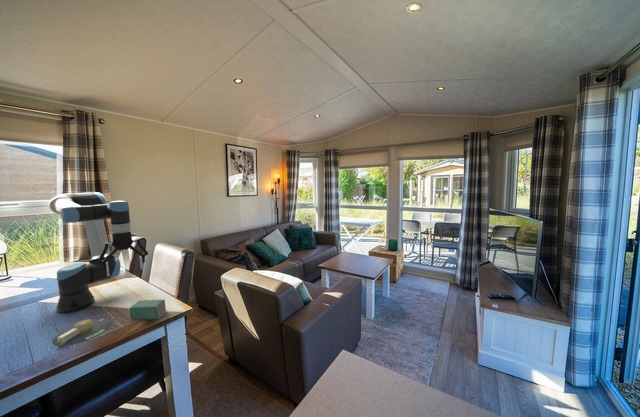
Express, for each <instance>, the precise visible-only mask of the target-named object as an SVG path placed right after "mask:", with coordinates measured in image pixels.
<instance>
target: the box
mask: <svg viewBox="0 0 640 417" xmlns="http://www.w3.org/2000/svg"><path fill="white" fill-rule="evenodd" d="M166 313H167V309H166V301H165V299H145V300H144V299H143V300H138V301H137V302H135V303H134V304H133V305H131V306H130V308H129V316H130V319H133V320H134V319H142V321H152V319H155V320H160V319H161V318H162V317H163V316H164V315H165V314H166ZM163 314H164V315H163ZM162 315H163V316H162ZM161 316H162V317H161ZM160 317H161V318H160ZM159 318H160V319H159Z"/></svg>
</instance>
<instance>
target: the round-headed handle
mask: <svg viewBox="0 0 640 417" xmlns="http://www.w3.org/2000/svg"><path fill="white" fill-rule="evenodd" d="M92 320H93V319H89V318H88V319H82V320H80V321H78V322H76V323H74V325H73V326H74V328H73V329H71V330H70V331H68V332H66V333H64V334H63V335H61V336H59V337H58V340H57V343H64V342H66V341H67V340H69V339H71V338H72V337H74V336H75V335H83V334H86V333H88V332H90V331H91V330H92V329H93V326H92Z"/></svg>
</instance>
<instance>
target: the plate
mask: <svg viewBox="0 0 640 417" xmlns="http://www.w3.org/2000/svg"><path fill="white" fill-rule="evenodd" d="M91 320H92V326H93V329H92V330H91V331H90V332H88V333H86V334H83V335H75V336H74V337H72V338H71V339H69V340H67V341H66V342H64V343H57V340H58V337H59V336H61V335H63V334H64V333H66V332H68V331H70V330H71V329H73V328H74V325H72V326H70V327H68V328H66V329H64V330H62V331H60V332H59V333H58V334H56V335H55V336H54V337H53V338H52V341H51V343H52V344H53V345H54V346H56V347H57V346H58V347H64V346H72V345H77V344H80V343H84V342H88V341H89V340H92V339H94V338H96V337H98V336H100V335H102V334H103V333H106V332H107V331H108V330H109V329H110V328H111V326H113V321H112V320H111V319H109V318H96V319H91Z"/></svg>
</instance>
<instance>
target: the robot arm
mask: <svg viewBox="0 0 640 417" xmlns="http://www.w3.org/2000/svg"><path fill="white" fill-rule="evenodd" d="M48 207H49V210H50V211H52V213H55V214H57V215H60V216H61V217H60V218H61V220H62V222H63V223H65V224H68V223H69V224H71V223H75V224H77V223H82V222H83V223H84V226H85V227H84V228H85V231H86V232H85V233H86V237H87V240H88V245H89V250H90V255H91V257H90V259H89V261H88V263H86V262H83V261H82V262H75V263H71V264H67V265H66V266H62V267H61V268H60V269H57V272H56V281H57V286H58V287H57V288H58V293H59V298H58V301H57V305H56V312H57V313H62V314H63V313H71V312H76V311H79V310H83V309H85V308H87V307H90V306H91V305H93V304H94V303H95V301H96V300H95V296H94V295H93V293H92V291H91V290H90V288H89V285H92V284H96V283H99V282H102V281H103V282H104V281H107V280H111V279H113V278H114V279H115V278H116V277H118V276H119V275H120V271H121V261H120V258H119V257H115V254H116V252H117V251H124V250H129V249H130V250H132V251H133V252H135V253H136V254H138V255H139V263H140V265H139V266H140V270H144V263H146V260H145V259H146V258H145V257H146V256H148V255H149V252H148V251H147V249H146V248H145V247H144V246H143V245H142V244H141V241H140V239H139V238H136V239H132V236H133V235H132V231H131V228H132V227H131V219H130V205H129V203H128V201H126V200H113V201H109V203H108V201H107V199H106V197H105V195H103V193H101V192H93V191H90V192H68V193H62V194H58V195H56V196H54V197H53V198H51V199H50V201H49V202H48ZM107 219H108V220H109V219H110V228H111V236H112V241H111V242H109V240H108V235H107V231H106V226H105V221H104V220H107ZM133 244H137V245H138V247H139V248H140V249H141V250H142V252H141V251H140V250H139V249H137V248H136V247H134V246H133ZM111 246H112V247H113V249H112V250H110V249H111V248H110V247H111Z"/></svg>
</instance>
